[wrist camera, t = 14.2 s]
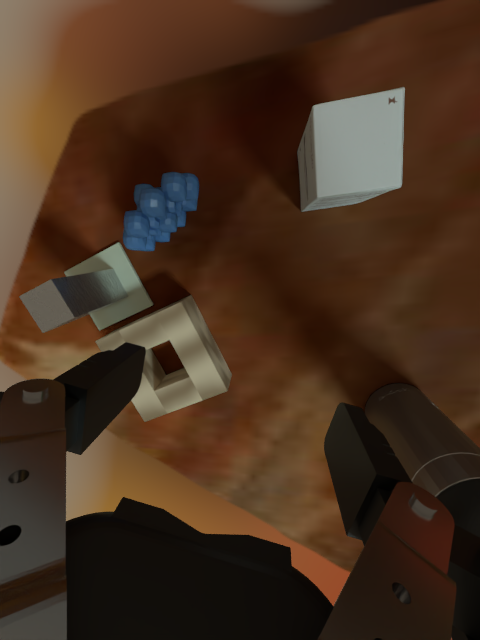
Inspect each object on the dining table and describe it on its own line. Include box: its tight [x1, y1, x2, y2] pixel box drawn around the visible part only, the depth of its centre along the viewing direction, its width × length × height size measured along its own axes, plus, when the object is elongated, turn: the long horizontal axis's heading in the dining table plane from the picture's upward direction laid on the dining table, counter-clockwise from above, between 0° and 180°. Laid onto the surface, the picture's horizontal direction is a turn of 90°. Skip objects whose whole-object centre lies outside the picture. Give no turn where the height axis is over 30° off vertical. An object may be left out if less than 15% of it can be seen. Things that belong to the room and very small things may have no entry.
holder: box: [95, 295, 232, 422], centre depth 41 cm, size 14×14×5 cm
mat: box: [64, 242, 154, 330], centre depth 41 cm, size 10×10×1 cm
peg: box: [19, 269, 129, 333], centre depth 35 cm, size 4×4×12 cm
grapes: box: [123, 172, 199, 251], centre depth 32 cm, size 12×7×12 cm, turn 131°
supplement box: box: [297, 87, 405, 212], centre depth 29 cm, size 7×7×13 cm
